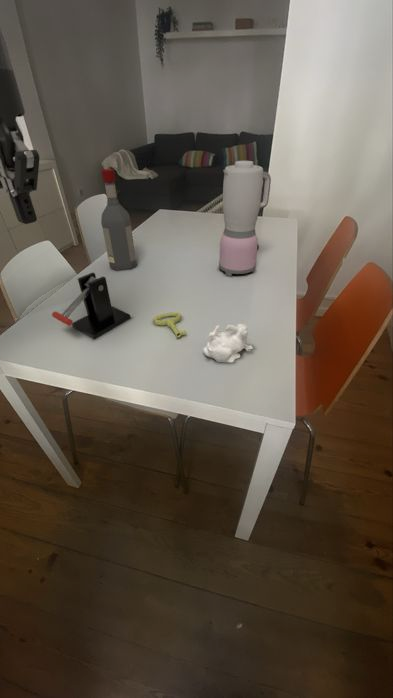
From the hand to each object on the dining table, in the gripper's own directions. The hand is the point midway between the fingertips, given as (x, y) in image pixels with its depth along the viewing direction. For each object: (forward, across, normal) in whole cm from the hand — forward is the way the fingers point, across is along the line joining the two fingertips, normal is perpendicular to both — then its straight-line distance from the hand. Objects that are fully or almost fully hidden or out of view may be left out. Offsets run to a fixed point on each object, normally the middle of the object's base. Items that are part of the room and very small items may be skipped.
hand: (28, 221), depth 47 cm
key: (+32, +2, +26) cm, 42 cm away
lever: (+24, -14, +12) cm, 30 cm away
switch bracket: (+32, -14, +17) cm, 39 cm away
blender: (+32, -2, +67) cm, 74 cm away
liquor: (+32, -38, +45) cm, 67 cm away
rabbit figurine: (+32, +21, +25) cm, 46 cm away
